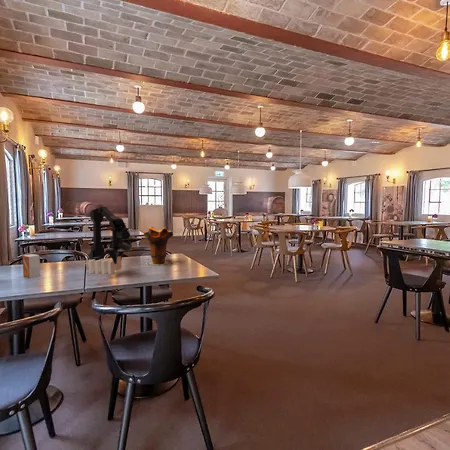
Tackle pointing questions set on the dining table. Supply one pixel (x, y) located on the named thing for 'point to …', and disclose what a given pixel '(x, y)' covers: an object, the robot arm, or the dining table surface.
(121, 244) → the robot arm
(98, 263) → the domino
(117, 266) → the domino
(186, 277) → the dining table surface
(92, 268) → the domino
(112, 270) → the domino
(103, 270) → the domino
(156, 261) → the decorative vase
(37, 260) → the small box
